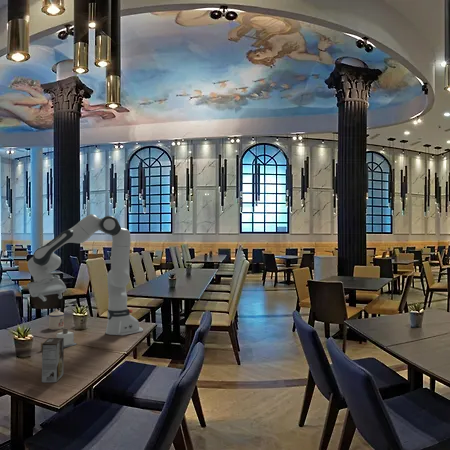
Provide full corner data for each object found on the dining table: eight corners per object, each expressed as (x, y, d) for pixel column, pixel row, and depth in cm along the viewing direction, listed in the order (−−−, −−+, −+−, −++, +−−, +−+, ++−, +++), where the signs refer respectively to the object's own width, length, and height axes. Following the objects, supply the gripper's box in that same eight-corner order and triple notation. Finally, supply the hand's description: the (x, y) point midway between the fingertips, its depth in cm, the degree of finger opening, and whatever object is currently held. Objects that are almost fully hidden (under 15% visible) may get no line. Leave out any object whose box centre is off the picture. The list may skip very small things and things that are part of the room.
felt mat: (67, 341, 229) (67, 341, 229) (77, 344, 224) (77, 343, 224) (52, 345, 222) (52, 344, 222) (62, 348, 216) (62, 347, 216)
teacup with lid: (61, 329, 255) (61, 311, 256) (46, 329, 255) (46, 311, 255) (67, 325, 267) (67, 307, 268) (53, 325, 267) (53, 307, 267)
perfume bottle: (67, 341, 227) (67, 326, 227) (73, 343, 224) (73, 328, 224) (56, 344, 222) (56, 328, 222) (62, 346, 218) (63, 330, 218)
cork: (43, 349, 214) (44, 341, 214) (46, 350, 212) (46, 342, 212) (39, 350, 212) (40, 342, 212) (42, 351, 211) (42, 343, 211)
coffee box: (48, 374, 177) (49, 337, 177) (63, 374, 178) (64, 337, 178) (40, 382, 168) (41, 343, 168) (57, 382, 169) (57, 343, 169)
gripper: (27, 279, 226) (37, 298, 221) (61, 275, 243) (71, 293, 237) (23, 286, 229) (33, 306, 223) (57, 282, 245) (67, 300, 240)
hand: (53, 299), depth 230 cm, fingers open, 8 cm apart
